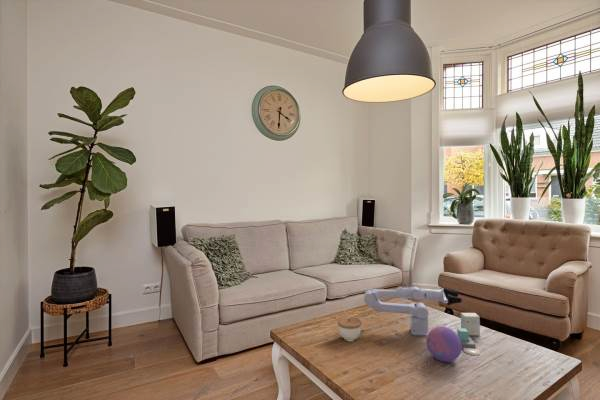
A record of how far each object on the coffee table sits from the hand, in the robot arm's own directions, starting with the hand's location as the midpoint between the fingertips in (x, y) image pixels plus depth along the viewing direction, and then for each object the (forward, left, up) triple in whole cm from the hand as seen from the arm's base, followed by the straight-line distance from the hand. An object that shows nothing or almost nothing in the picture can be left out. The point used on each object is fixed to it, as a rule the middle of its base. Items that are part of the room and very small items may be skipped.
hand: (459, 297), depth 175 cm
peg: (-1, -9, -21) cm, 23 cm away
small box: (+6, +4, -21) cm, 22 cm away
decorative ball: (-15, -28, -21) cm, 38 cm away
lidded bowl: (-59, -12, -21) cm, 64 cm away
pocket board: (-6, -9, -21) cm, 23 cm away
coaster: (0, -18, -21) cm, 28 cm away
